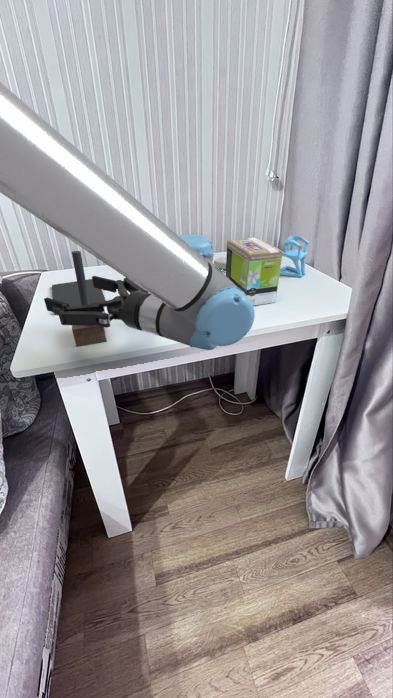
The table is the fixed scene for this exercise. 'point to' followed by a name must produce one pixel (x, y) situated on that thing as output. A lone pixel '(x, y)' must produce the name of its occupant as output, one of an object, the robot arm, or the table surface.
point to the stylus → (80, 277)
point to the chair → (295, 256)
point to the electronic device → (220, 262)
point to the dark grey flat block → (76, 293)
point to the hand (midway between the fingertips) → (71, 292)
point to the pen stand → (88, 334)
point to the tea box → (254, 268)
